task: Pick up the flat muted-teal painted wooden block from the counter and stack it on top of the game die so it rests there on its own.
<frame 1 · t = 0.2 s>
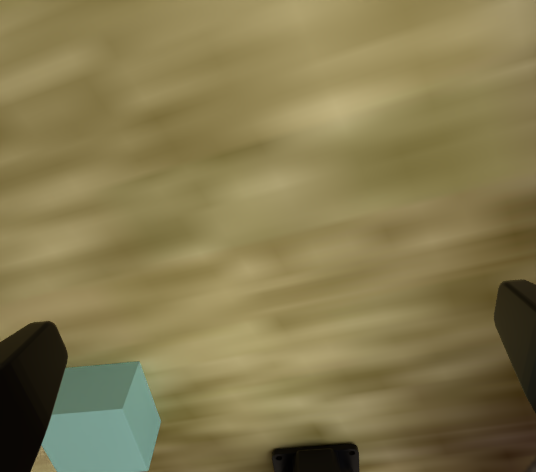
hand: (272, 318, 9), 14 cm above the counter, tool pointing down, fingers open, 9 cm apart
teal block: (110, 394, 31), on the counter
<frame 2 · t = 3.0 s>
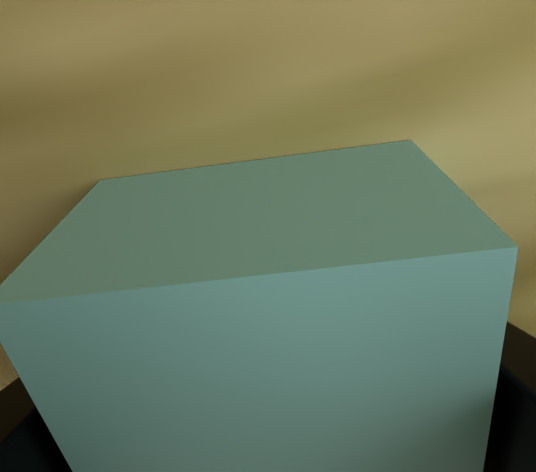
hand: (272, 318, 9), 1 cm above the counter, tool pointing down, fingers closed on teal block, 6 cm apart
teal block: (272, 288, 10), on the counter, touching gripper
when the fingers open (10 cm above the counter, at t = 6.3 s): teal block drops 2 cm, resting on game die.
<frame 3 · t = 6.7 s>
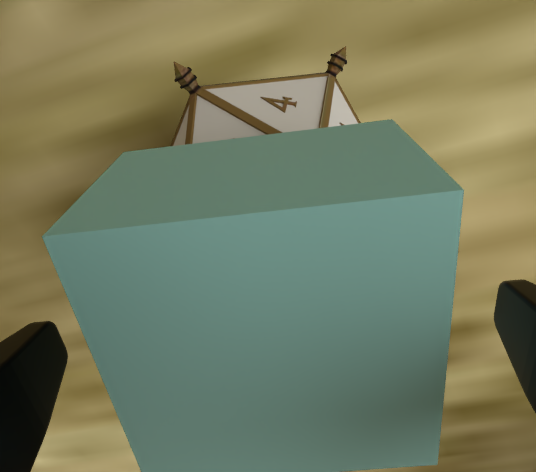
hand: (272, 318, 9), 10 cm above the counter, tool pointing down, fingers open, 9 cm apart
game die: (271, 152, 18), on the counter, touching teal block
teal block: (271, 251, 11), point 8 cm above the counter, touching game die
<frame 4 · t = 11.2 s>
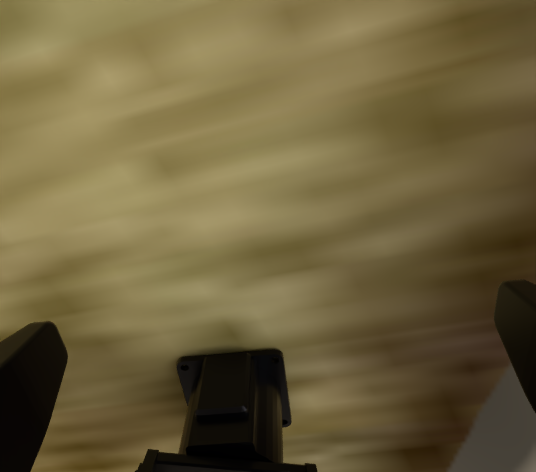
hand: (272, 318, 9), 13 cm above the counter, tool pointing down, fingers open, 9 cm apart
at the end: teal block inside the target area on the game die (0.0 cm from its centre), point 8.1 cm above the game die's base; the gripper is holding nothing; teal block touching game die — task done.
